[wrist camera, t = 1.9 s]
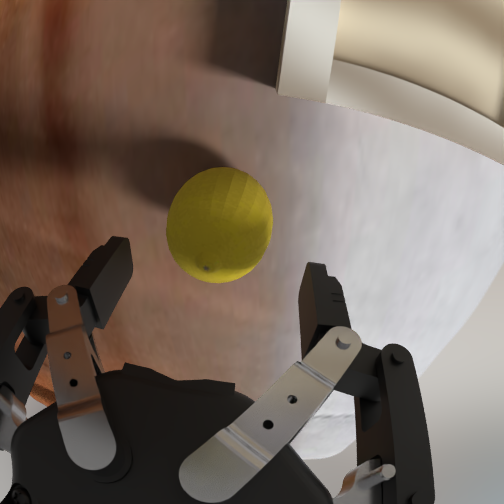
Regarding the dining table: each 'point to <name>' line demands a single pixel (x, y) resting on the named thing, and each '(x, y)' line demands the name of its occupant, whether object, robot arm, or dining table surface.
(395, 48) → the birch base
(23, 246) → the dining table surface
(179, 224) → the lemon
